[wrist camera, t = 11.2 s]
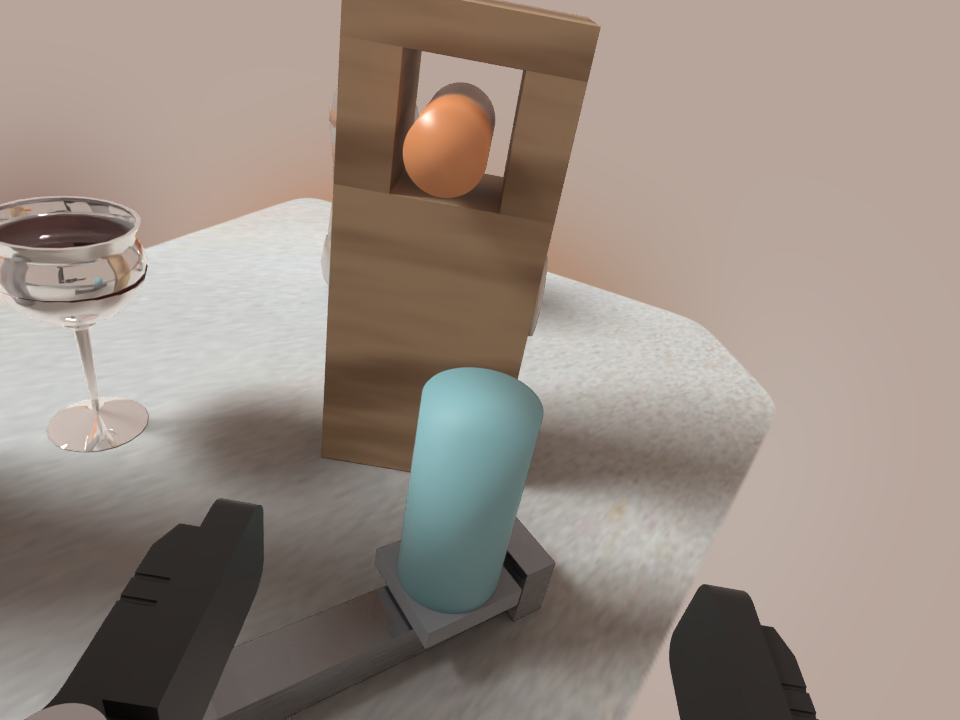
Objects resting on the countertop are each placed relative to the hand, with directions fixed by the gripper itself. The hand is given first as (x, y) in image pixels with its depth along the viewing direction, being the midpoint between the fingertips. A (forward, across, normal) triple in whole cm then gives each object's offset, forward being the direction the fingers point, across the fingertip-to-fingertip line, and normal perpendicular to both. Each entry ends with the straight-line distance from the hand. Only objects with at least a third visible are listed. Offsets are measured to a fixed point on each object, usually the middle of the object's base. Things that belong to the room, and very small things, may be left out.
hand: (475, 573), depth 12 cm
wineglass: (+19, +20, +17) cm, 33 cm away
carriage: (+11, 0, +14) cm, 18 cm away
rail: (+8, +2, +16) cm, 18 cm away
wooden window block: (+23, +2, +16) cm, 28 cm away
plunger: (+20, +3, -1) cm, 20 cm away
